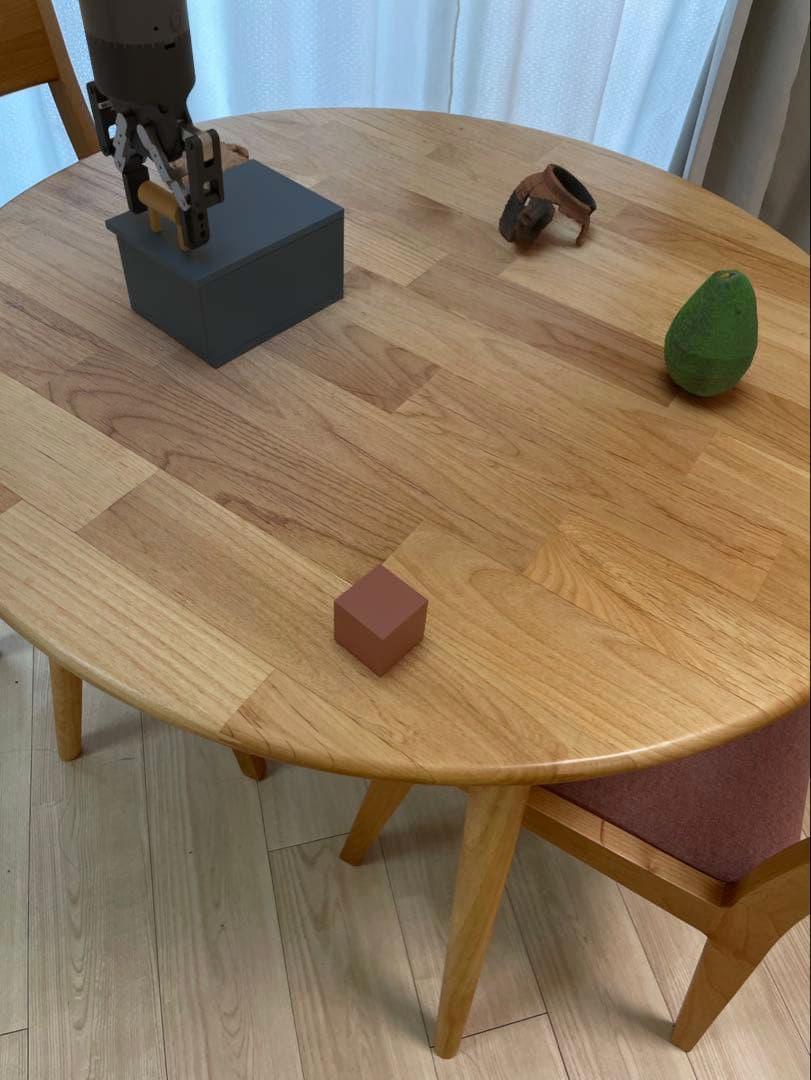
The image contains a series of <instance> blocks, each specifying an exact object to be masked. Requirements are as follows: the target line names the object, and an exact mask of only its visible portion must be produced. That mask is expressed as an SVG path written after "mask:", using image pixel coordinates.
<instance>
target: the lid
mask: <svg viewBox="0 0 811 1080" xmlns="http://www.w3.org/2000/svg"><path fill="white" fill-rule="evenodd" d="M251 159H252V160H251ZM251 159H250V160H249V161H247V162H245V163H242V164H240V165H237V166H235V167H233V168H230V169H228V170H225V171H223V172H222V173H223V185H224V202H222V203H220V204H216V205H214V206H212V207H209V208H207V214H208V222H209V224H208V225H209V230H210V238H209V241H208V242H207V243H206V244H205V245H202V246H200V247H198V248H196V249H194V250H191V249H189V248H188V247H186V246H185V245H184V243H183V236H182V229H181V222H180V215H179V209H178V207H180V205H179V203H178V201H177V199H176V197H175V194H174V192H173V191H172V192H171V191H169V190H167V189H166V188H164V187H162V186H161V185H160V184H157V183H156V182H154V181H153V180H150V181H145V182H143V183H142V184H141V185H140V187H139V189H138V198H139V200H140V201H141V202H142V203H143V204H145V205H146V206H148V210H147V211H145V212H143V213H140V214H135V213H133V212H131V211H130V210H129V209H128V210H127V211H125V212H123V213H120V214H117V215H115V216H112V217H110V218H108V219H106V220H104V223H105V228H106V229H107V230H108V231H109V232H111V233H112V234H114V235H115V236H116V235H117V236H118V237H120V238H122V239H123V240H125V241H126V242H128V243H129V244H131V245H132V246H134V247H135V248H137V249H138V250H140V251H141V252H143V253H144V254H146V255H147V256H149V257H150V258H152V259H153V260H155V261H156V262H158V263H159V264H161V265H162V266H164V267H165V268H167V269H169V270H170V271H172V272H173V273H175V274H176V275H178V276H179V277H181V278H182V279H184V280H185V281H187V282H188V283H190V284H191V285H193V286H194V287H196V288H200V287H202V286H204V285H206V284H208V283H210V282H212V281H214V280H216V279H218V278H220V277H222V276H224V275H226V274H228V273H230V272H232V271H234V270H236V269H238V268H240V267H242V266H244V265H246V264H248V263H250V262H252V261H254V260H256V259H258V258H260V257H262V256H264V255H267V254H269V253H271V252H273V251H275V250H277V249H279V248H281V247H283V246H285V245H287V244H289V243H291V242H293V241H295V240H297V239H299V238H301V237H303V236H305V235H307V234H309V233H311V232H313V231H315V230H317V229H319V228H321V227H323V226H325V225H327V224H329V223H331V222H333V221H335V220H337V219H339V218H341V217H345V208H344V207H343V206H341V205H339V204H338V203H335V202H333V201H332V200H330V199H329V198H326V197H324V196H322V195H321V194H319V193H317V192H315V191H314V190H311V189H310V188H308V187H306V186H305V185H302V184H300V183H299V182H297V181H295V180H293V179H292V178H289V177H288V176H286V175H284V174H282V173H280V172H278V171H277V170H275V169H273V168H271V167H269V166H267V165H266V164H264V163H262V162H260V161H258V160H257V159H255V158H251ZM206 185H207V187H208V189H210V184H209V181H208V182H206ZM185 189H186V191H187V193H188V192H190V187H189V186H187V187H185Z"/></svg>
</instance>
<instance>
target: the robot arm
mask: <svg viewBox="0 0 811 1080" xmlns="http://www.w3.org/2000/svg"><path fill="white" fill-rule="evenodd" d="M77 1H78V7H79V10H80V16H81V20H82V25H83V30H84V35H85V41H86V47H87V51H88V57H89V61H90V65H91V71H92V75H93V79H94V80H91V81H88V82H86V84H85V88H86V93H87V97H88V102H89V105H90V110H91V115H92V118H93V119H92V120H93V124H94V127H95V132H96V136H97V140H98V145H99V149H100V151H101V154H102V155H103V156H105V157H106V158H107V157H110V156H111V157H112V158H113V163H114V167H115V168H116V169H117V171H118V172H119V173H121V178H122V183H123V189H124V192H125V193H124V194H125V197H126V198H125V199H126V201H127V207H128V211H129V210H130V211H131V212H133V213H135V214H140V213H143V212H145V211H147V210H148V206H146V205H145V204H143V203H142V202H141V201H140V200H139V198H138V189H139V187H140V185H141V184H142V183H143V182H145V181H151V178H150V173H149V172H150V171H149V167H148V166H146V165H145V163H146V162H147V160H148V159H149V160H150V161H151V162H152V163H154V166H155V167H156V170H157V172H158V174H159V177H160V179H161V181H162V182H163V183H165V184H168V185H169V187H170V186H171V187H170V188H171V190H172V193H173V192H174V194H175V197H176V199H177V201H178V203H179V205H180V207H178V209H179V215H180V222H181V229H182V236H183V243H184V245H185V246H186V247H188V248H189V249H191V250H194V249H196V248H198V247H200V246H202V245H205V244H206V243H207V242H208V241H209V238H210V230H209V225H208V224H209V222H208V214H207V208H209V207H212V206H214V205H216V204H220V203H222V202H224V185H223V173H222V160H221V147H220V141H221V138H220V135H219V133H218V131H217V130H216V129H215V128H213V127H212V128H209V129H207V130H201V129H200V128H198V127H196V126H195V125H194V122H193V119H192V116H191V113H190V111H189V108H188V104H187V103H188V102H187V101H188V98H189V97H190V94H191V92H192V90H193V89H194V87H195V85H196V81H197V77H196V67H195V59H194V52H193V51H194V50H193V44H192V43H193V42H192V33H191V25H190V18H189V17H190V16H189V9H188V8H189V7H188V2H187V1H188V0H77ZM112 126H115V127H116V128H115V133H114V136H113V137H111V135H110V130H109V129H110V127H112ZM182 155H183V156H184V157H185V158H186V160H187V163H186V164H185V165H184V166H181V167H179V168H176V169H175V168H172V167H171V166H170V165H169V163H171V162H173V161H176V160H178V159H180V158H181V157H182ZM186 175H187V176H188V178H189V187H190V192H188V193H187V191H186V189H185V186H184V184H183V182H182V177H183V176H186ZM208 181H209V184H210V189H208V187H207V185H206V182H208Z"/></svg>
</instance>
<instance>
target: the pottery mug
mask: <svg viewBox="0 0 811 1080" xmlns="http://www.w3.org/2000/svg"><path fill="white" fill-rule="evenodd" d="M528 199H529V200H528ZM527 201H528V202H527ZM526 202H527V205H526ZM554 205H555V206H558V209H557V211H558V213H560V214H562V215H565V216H566V217H567V218H569V219H571V220H574V221H575V222H576V223H578V224H580V225H581V228H580V232H579V233H578V236H577V237H576V238H575V241H574V242H575V244H576V245H579V244H581V242H582V240H583V239H585V236H586V234H587V233H588V231H589V226H590V224H591V223H590V222H591V215H592V214H593V213H594V212H595V211H597V202H596V200H595V199H594V197H593V195H592V193H590V191H589V190H588V188H587V187H585V185H584V184H583V183H582V182H581V181H580V180H579V179H578V178H577V177H576V175H575V176H574V174H572V173H571V172H570V171H568V170H567V169H566V168H564V167H562V166H561V165H558V164H555V163H548V165H547V166H546V167H545V169H544V170H543V171H538V172H536V173H532V174H530V175H528V176H526V177H525V178H524V179H522V180H521V181H519V184H517V186H516V187H515V188H514V190H513V191H512V193H511V194H510V196H509V199H508V200H507V202H506V204H505V205H504V208H503V212H502V214H501V216H500V218H499V220H498V226H499V229H500V232H501V233H502V234H503V236H504V237H505V238H506V240H507V241H508V242H511V241H512V240H513V239H514V235H516V237H517V239H518V241H519V242H520V243H523V244H528V245H534V244H535V243H536V241H537V240H538V238H539V237H540V235H541V233H542V232H543V231H544V230H545V229H546V228H547V226H548V225H549V224H550V223H552V221H553V218H554V215H555V212H556V207H555V206H554Z"/></svg>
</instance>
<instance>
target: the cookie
mask: <svg viewBox="0 0 811 1080" xmlns="http://www.w3.org/2000/svg"><path fill="white" fill-rule="evenodd" d="M220 147H221V160H222V172H223V171H225V170H228V169H230V168H233V167H235V166H237V165H240V164H242V163H245V162H247V161H249V160H252V159H253V158H251V159H250V156H249V155H250V154H249V151H248V149H247V147H245V146H241V145H239V144H236V143H231V142H230V143H226V141H221V140H220ZM186 163H187V160H186V158H185V157H184V156H183V155H182V157H181V158H180V159H178V160H176V161H173V162H171V163H169V165H170V166H171V167H172V168H175V169H176V168H179V167H181V166H184V165H185V164H186ZM182 182H183V184H184V186H185V187H187V186H189V178H188V176H187V175H186V176H183V177H182ZM169 187H170V188H171V186H170V185H169Z"/></svg>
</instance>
